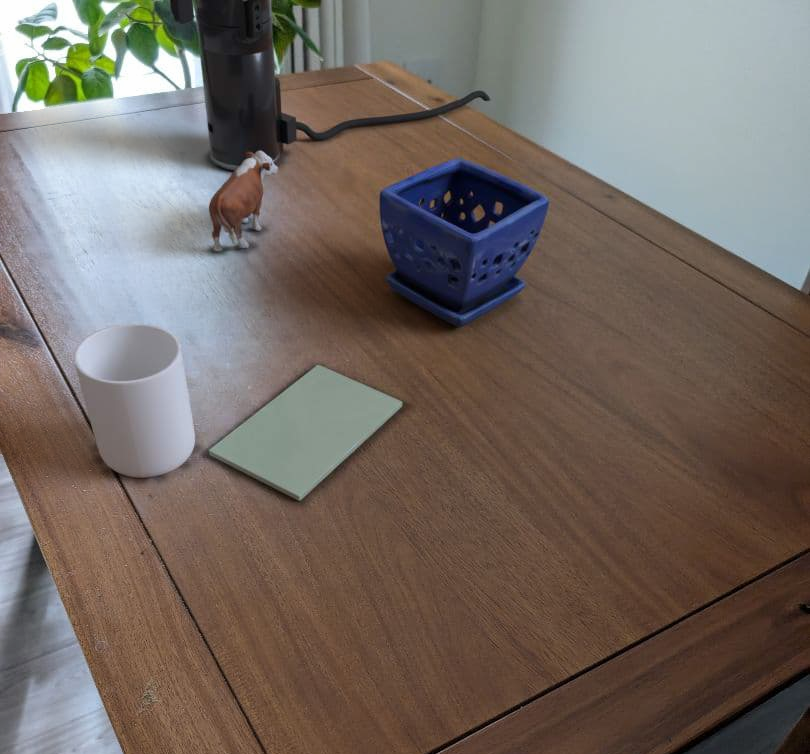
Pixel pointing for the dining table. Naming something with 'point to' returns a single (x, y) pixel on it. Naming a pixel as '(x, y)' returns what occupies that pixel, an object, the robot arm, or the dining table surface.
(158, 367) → the cup
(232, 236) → the bull figurine
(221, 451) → the tile
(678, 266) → the dining table surface
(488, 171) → the flower pot
